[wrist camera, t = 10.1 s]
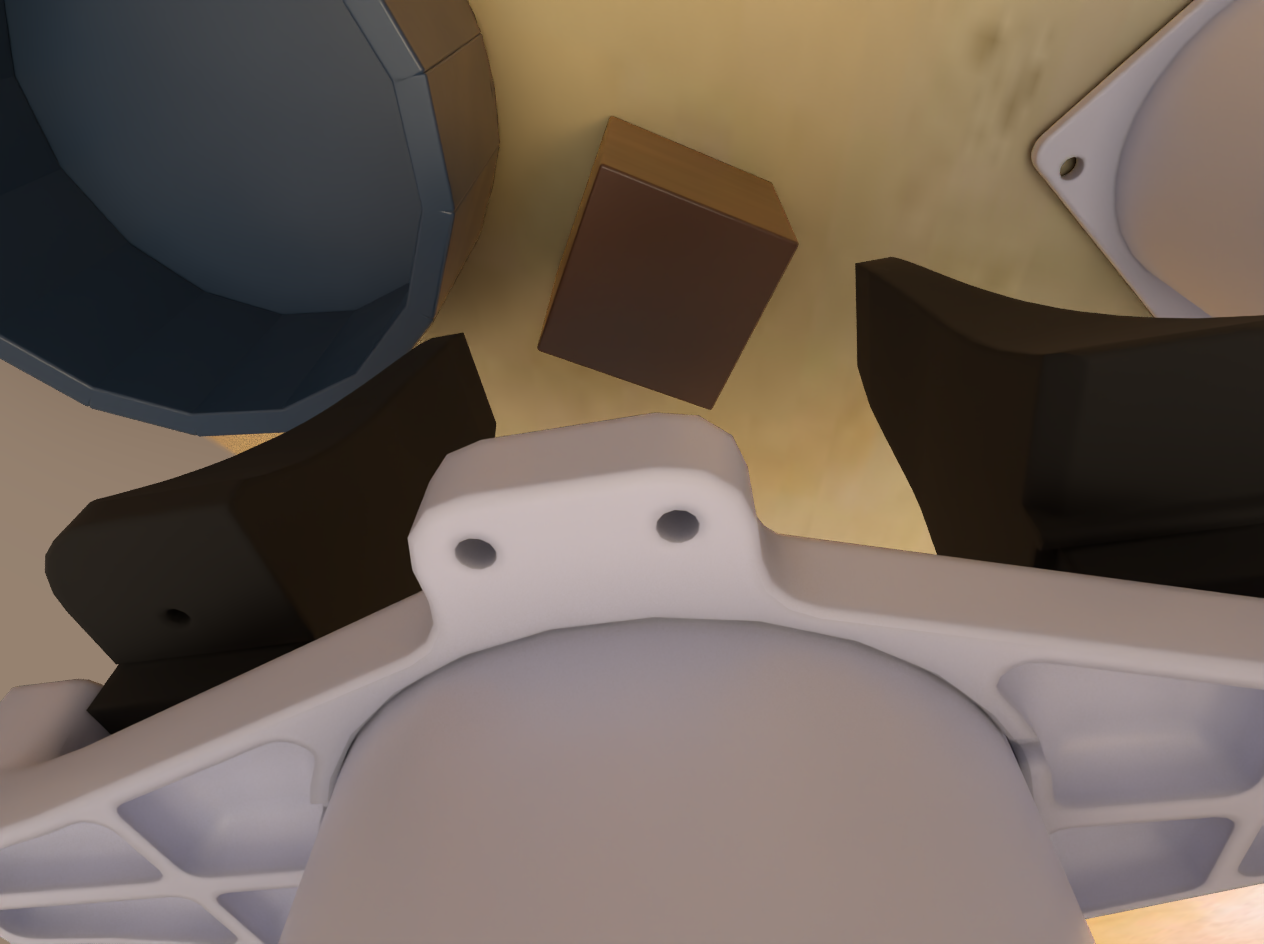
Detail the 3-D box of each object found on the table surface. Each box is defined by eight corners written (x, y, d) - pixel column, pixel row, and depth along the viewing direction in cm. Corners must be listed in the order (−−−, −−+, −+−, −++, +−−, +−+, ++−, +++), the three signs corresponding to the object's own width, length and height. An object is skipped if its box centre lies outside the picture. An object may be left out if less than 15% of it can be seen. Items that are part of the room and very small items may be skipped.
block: (773, 182, 18) (800, 244, 15) (702, 329, 21) (711, 411, 17) (610, 114, 17) (600, 163, 14) (555, 276, 20) (536, 351, 16)
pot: (596, 79, 17) (577, 136, 13) (355, 398, 22) (283, 516, 18) (84, -408, 13) (-211, -574, 8) (-67, 128, 18) (-296, 197, 14)
